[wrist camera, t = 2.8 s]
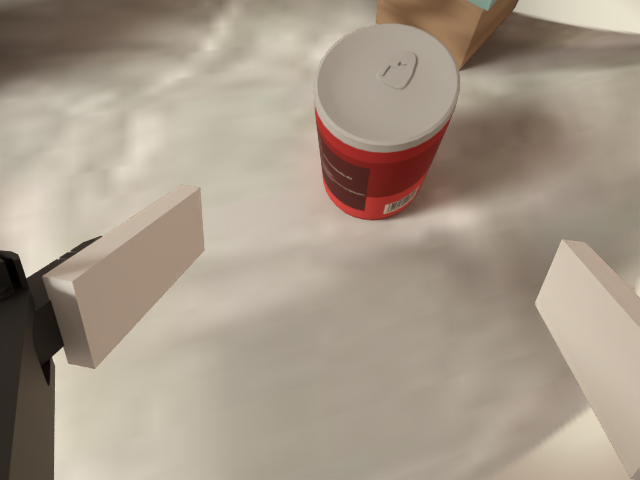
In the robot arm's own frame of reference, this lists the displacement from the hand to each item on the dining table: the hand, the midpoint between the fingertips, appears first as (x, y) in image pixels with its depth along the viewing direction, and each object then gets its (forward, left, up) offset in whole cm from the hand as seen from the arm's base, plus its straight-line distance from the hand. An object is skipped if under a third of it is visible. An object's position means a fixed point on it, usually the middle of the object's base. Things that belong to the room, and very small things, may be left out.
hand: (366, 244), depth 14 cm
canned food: (-5, +9, -14) cm, 17 cm away
